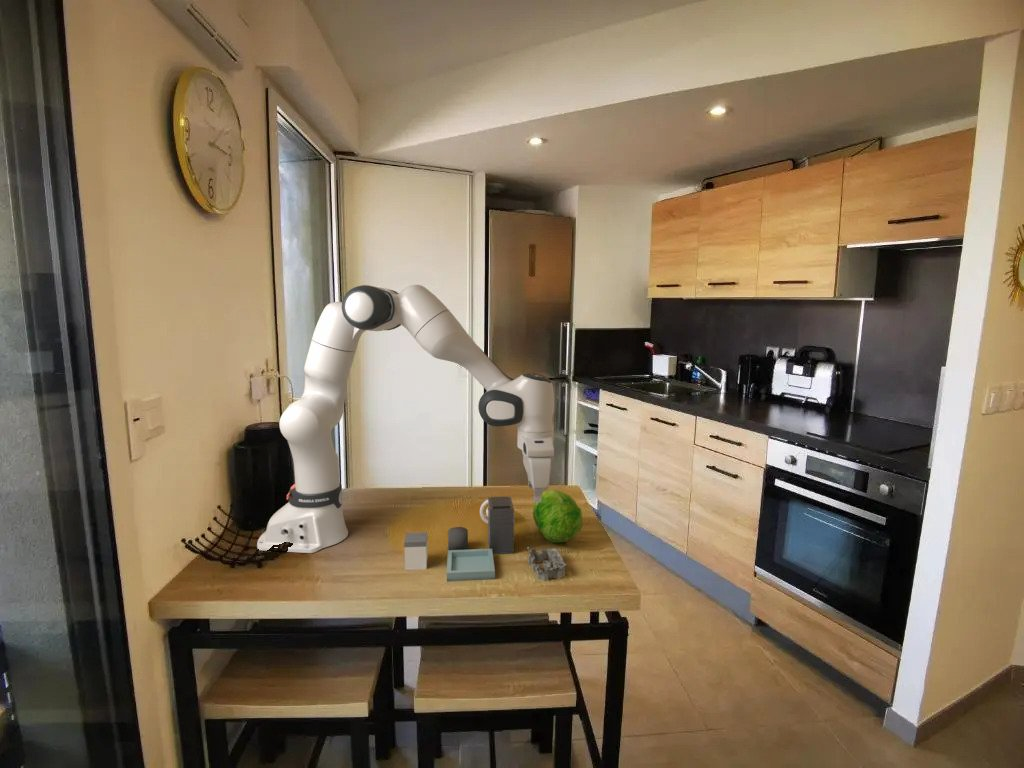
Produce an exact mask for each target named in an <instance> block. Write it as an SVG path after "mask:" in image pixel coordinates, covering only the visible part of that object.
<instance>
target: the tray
mask: <svg viewBox="0 0 1024 768" xmlns="http://www.w3.org/2000/svg"><path fill="white" fill-rule="evenodd" d="M481 580H496V569H495V562H494V554H493V552H492V549H489V548H475V549H473V548H472V549H468V550H447V563H446V582H458V581H459V582H460V581H461V582H462V581H481Z"/></svg>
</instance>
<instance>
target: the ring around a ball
mask: <svg viewBox="0 0 1024 768" xmlns="http://www.w3.org/2000/svg"><path fill="white" fill-rule="evenodd" d="M486 506H487V508H486V510H485V507H486ZM484 510H485V514H486V515H485V514H484ZM479 516H480V519H481V520H482V521H483V522H484V523H485V524H487V525H488V518H486V517H488V499H486V500H485V501H483V503H481V505H480V508H479Z"/></svg>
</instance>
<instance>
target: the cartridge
mask: <svg viewBox="0 0 1024 768" xmlns="http://www.w3.org/2000/svg"><path fill="white" fill-rule="evenodd" d="M403 546H404V547H403V548H404V571H410V570H411V571H413V570H415V571H416V570H427V568H428V556H429V544H428V531H424V532H421V531H420V532H406V534H405V537H404V542H403Z"/></svg>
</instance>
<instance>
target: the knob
mask: <svg viewBox="0 0 1024 768" xmlns="http://www.w3.org/2000/svg"><path fill="white" fill-rule="evenodd" d="M468 537H469V530H468V528H466V527H463V526H454V527H451V528H449V529H448V531H447V541H448V544H447V545H448V547H447V548H448V550H469V549H468V548H469V541H468V540H469V538H468ZM448 550H447V551H448Z"/></svg>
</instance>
